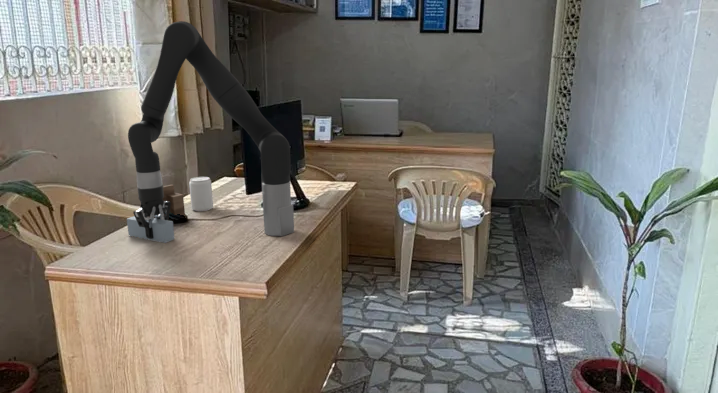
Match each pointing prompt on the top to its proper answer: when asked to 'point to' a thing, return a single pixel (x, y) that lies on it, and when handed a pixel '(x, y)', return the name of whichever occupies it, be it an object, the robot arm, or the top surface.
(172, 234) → the grey rectangular block
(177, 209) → the headboard
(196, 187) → the beverage can
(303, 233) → the top surface
